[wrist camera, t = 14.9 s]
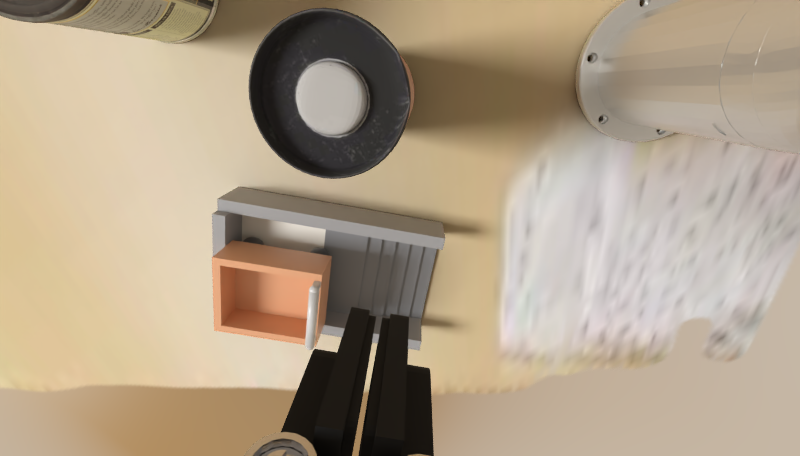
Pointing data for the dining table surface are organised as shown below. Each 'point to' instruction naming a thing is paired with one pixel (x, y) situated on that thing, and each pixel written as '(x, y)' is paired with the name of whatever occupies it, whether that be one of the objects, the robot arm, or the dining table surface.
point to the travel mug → (330, 93)
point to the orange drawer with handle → (271, 291)
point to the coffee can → (120, 16)
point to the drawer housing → (343, 251)
